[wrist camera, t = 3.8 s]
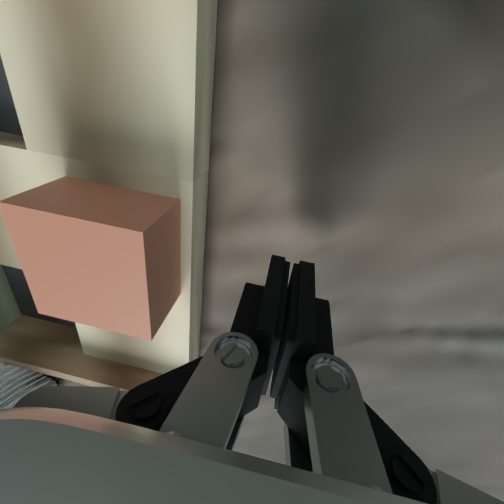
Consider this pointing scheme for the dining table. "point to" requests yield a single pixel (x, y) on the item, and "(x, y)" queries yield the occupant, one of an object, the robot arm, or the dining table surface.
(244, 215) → the dining table surface
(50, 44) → the box
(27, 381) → the shell sculpture
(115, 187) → the block
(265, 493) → the robot arm
